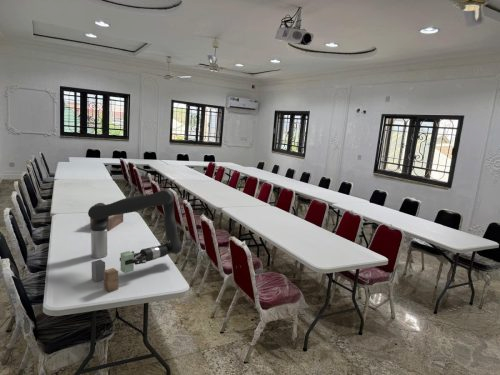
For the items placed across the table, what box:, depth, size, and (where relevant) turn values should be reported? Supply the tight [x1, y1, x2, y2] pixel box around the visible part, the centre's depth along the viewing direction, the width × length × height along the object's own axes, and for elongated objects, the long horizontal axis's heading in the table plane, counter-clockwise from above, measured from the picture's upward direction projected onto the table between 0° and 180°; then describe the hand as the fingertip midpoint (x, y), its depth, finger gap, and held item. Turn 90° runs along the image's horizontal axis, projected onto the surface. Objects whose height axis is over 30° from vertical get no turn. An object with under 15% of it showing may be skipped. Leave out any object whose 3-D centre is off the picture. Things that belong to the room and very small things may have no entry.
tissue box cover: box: [89, 214, 124, 232], centre depth 272 cm, size 26×14×10 cm, turn 176°
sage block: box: [120, 250, 135, 274], centre depth 187 cm, size 5×5×10 cm
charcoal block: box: [91, 259, 106, 283], centre depth 183 cm, size 5×5×10 cm
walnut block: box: [103, 267, 119, 293], centre depth 174 cm, size 5×5×10 cm
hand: (122, 261), depth 185 cm, fingers closed on sage block, 5 cm apart
